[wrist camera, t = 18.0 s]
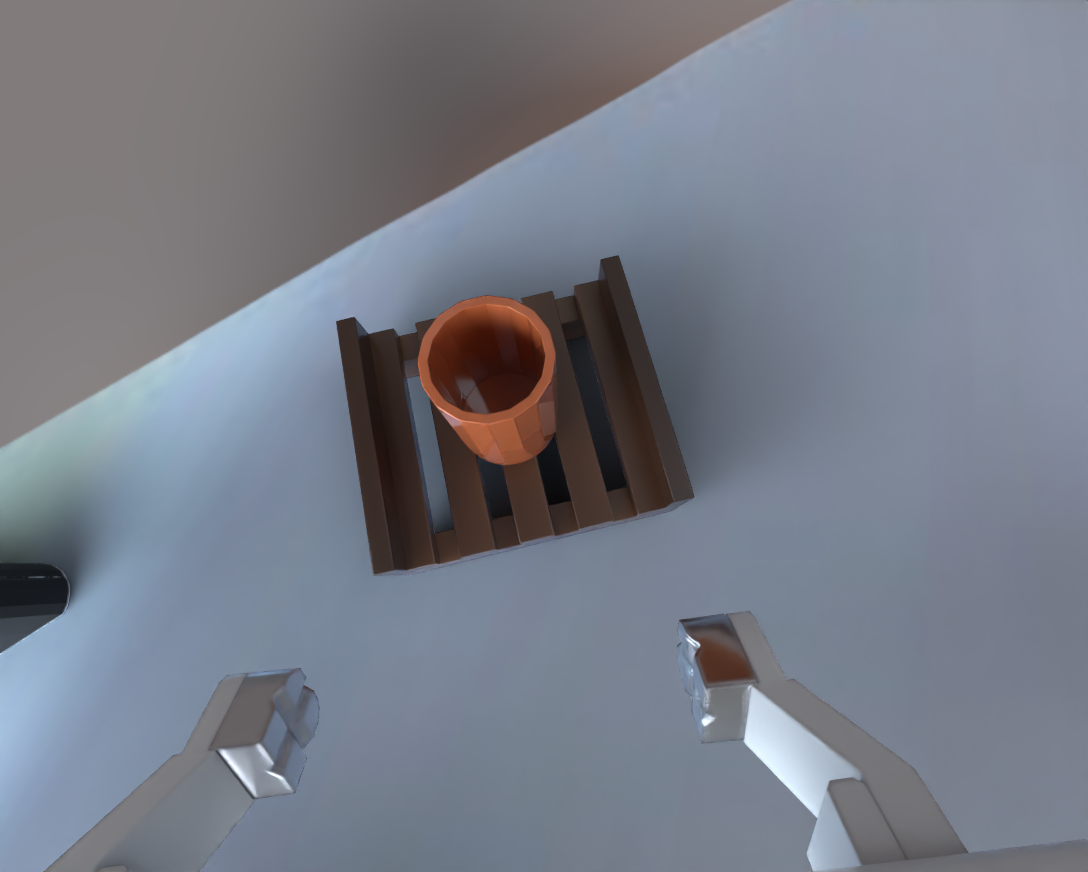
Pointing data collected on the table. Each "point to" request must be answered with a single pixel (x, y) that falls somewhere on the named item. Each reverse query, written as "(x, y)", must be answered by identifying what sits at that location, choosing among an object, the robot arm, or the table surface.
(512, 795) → the table surface
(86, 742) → the table surface
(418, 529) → the rack
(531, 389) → the cup
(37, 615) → the camera
